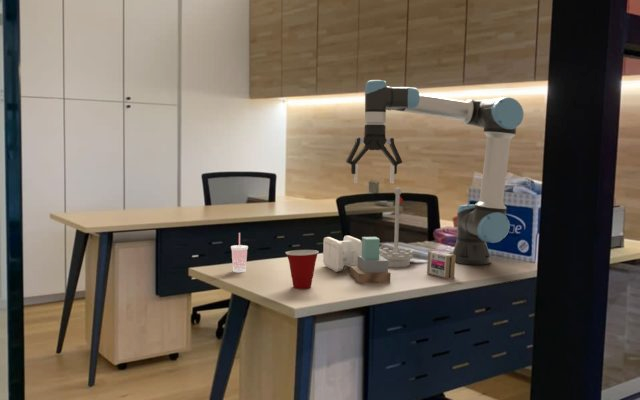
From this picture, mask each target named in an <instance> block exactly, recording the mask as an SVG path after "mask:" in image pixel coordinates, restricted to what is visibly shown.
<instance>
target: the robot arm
mask: <svg viewBox="0 0 640 400" xmlns="http://www.w3.org/2000/svg"><path fill="white" fill-rule="evenodd" d="M364 91H365V92H364V123H365V125H364V133H363V135H364V137H363V138H361V137H355V142H354V145H353V147H352V149H351V151H350V153H349V155H348V157H347V158H346V161H345V162H346V163H347V164H349V165H350V172H351V175H353V184H358V181H359V175H358V174H359V173H358V171H359V165H358V164H357V163H359V161H360V160H361V158H362V157H363V156H364V155H365V154H367V152H368V151H381V152H382V153H383V154H384V155H385V156H386V158H387V159H388V160H389V162H390V163H391V164H390V165H389V166H390V167H389V184H395V175H397V173H398V165H400V164H403V160H402V158H401V156H400V154H399V151H398V149H397V147H396V145H395V138H393V137H388V138H386V130H387V129H386V123H387V121H386V120H387V115H386V114H387V113H386V111H396V112H404V113H412V114H417V115H424V116H430V117H436V118H444V119H449V120H457V121H461V122H462V123H463V124H465V125H471V126H475V127H478V128H482V129H483V134H484V135H485V137H486V144H485V153H484V158H483V159H484V161H483V168H482V169H483V170H482V177H481V178H482V179H481V185H480V194H479V200H478V201H477V202H476V203H475V204H460V205H459V206H458V208H457V213H456V214H457V218H456V219H457V221H456V242H455V245H454V248H453V250H452V253H451V254H452V255H456V258H455V263H456V264H462V265H471V266H472V265H474V266H479V265H487V264H490V263H491V255H490V251H489V249H488V245H487V243H492V244H495V243H499V242H501V241H502V240H503V239H505V238H506V236H507V235H508V233H509V231H510V227H511V225H510V224H511V223H510V220H509V219H508V217H507V206H506V205H505V204H504V198H505V197H504V196H505V189H506V180H507V172H508V163H509V154H510V146H511V140H512V139H513V138H514V137H515V136H516V133H517V128H518V127H519V126H520V124H521V123H522V122H523V120H524V115H525V114H524V109H523V106H522V105H521V103H520V102H519V101H518V100H517V99H515V98H512V97H510V96H509V97H508V96H507V97H506V96H505V97H504V96H501V97H497V98H488V99H467V100H465V101H464V100H458V99H452V98H448V97H447V98H446V97H439V96H434V95H433V96H432V95H427V94H422V93H420V92H419V89H418V88H417V87H413V86H412V87H410V86H388V85H387V81H386V80H381V79H371V80H368V81H366V83H365V88H364ZM362 143H364V146H363V148H362V149H361V150H360V151H359V153H357V151H358V150H359V147H360V145H361V144H362ZM385 144H387V145H389V148H390V150H391V151H392V154H393V155H392V154H391V153H390V151H389V150H388V149H387V147H386V146H385ZM356 153H357V155H356ZM355 155H356V156H355ZM393 156H394V157H393Z"/></svg>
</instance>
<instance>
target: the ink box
mask: <svg viewBox="0 0 640 400" xmlns="http://www.w3.org/2000/svg"><path fill="white" fill-rule="evenodd" d="M455 258H456V255H452V253H447V252H441V251H438V250H431V251H430V250H429V251H428V252H427V264H426V266H427V268H426V274H427V275H432V276H436V277H439V278H442V279H446V280H451V279H454V278H455V271H456V270H455V269H456V262H455Z"/></svg>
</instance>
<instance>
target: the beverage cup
mask: <svg viewBox="0 0 640 400" xmlns="http://www.w3.org/2000/svg"><path fill="white" fill-rule="evenodd" d="M248 249H249V246H248V245H245V244H244V245H243V244H241V232H238V245H237V244H236V245H235V244H234V245H231V246H230V250H231V259H232V260H231V261H232V271H233V273H245V272H246V271H247V258H248Z"/></svg>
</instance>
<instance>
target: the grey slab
mask: <svg viewBox="0 0 640 400" xmlns="http://www.w3.org/2000/svg"><path fill="white" fill-rule="evenodd" d="M358 268H360V269H361V270H362V271H364V272H365V273H379V272H389V266H388V260H386V259H385V258H383V257H382V256H380V255H379V259H368V260H365V259H364V258H363V257H362V256H358Z"/></svg>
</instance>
